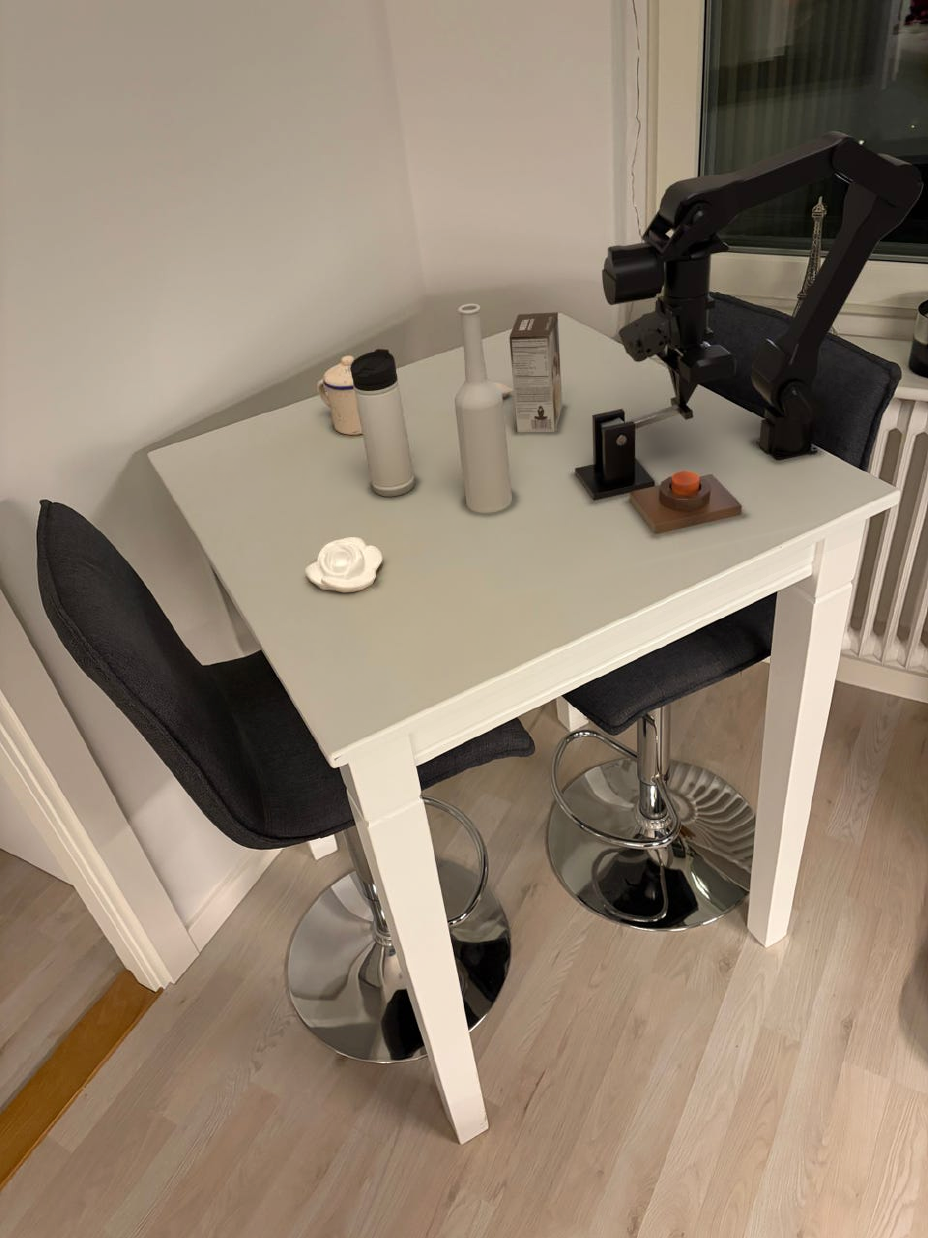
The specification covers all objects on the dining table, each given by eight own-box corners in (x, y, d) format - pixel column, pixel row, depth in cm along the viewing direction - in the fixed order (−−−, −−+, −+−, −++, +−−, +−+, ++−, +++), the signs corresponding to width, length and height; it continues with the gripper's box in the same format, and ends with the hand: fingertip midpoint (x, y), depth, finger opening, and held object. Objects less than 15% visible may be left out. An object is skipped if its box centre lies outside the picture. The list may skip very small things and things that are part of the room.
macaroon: (485, 392, 160) (484, 379, 159) (514, 391, 159) (513, 377, 158) (482, 404, 157) (481, 390, 155) (512, 402, 156) (510, 389, 154)
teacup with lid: (397, 415, 157) (386, 349, 150) (366, 439, 151) (353, 372, 144) (340, 406, 162) (326, 341, 155) (308, 429, 156) (293, 363, 149)
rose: (364, 516, 124) (389, 551, 117) (370, 544, 126) (394, 580, 119) (292, 539, 121) (313, 576, 114) (300, 567, 124) (321, 605, 117)
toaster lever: (678, 406, 131) (677, 391, 129) (693, 421, 127) (692, 406, 125) (599, 434, 130) (596, 419, 129) (611, 449, 126) (609, 434, 125)
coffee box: (524, 407, 154) (517, 312, 144) (563, 407, 153) (558, 310, 143) (516, 433, 147) (508, 335, 137) (556, 433, 146) (551, 334, 136)
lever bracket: (633, 462, 136) (634, 400, 130) (654, 488, 130) (656, 424, 124) (575, 475, 135) (572, 413, 129) (593, 502, 129) (592, 438, 123)
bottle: (488, 484, 136) (468, 294, 118) (521, 498, 132) (506, 303, 114) (456, 504, 132) (431, 311, 115) (489, 519, 128) (469, 321, 111)
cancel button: (692, 480, 125) (692, 468, 124) (703, 492, 122) (704, 481, 121) (666, 485, 124) (667, 474, 123) (677, 498, 122) (678, 487, 120)
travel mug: (423, 477, 139) (403, 349, 127) (403, 499, 135) (380, 369, 123) (386, 472, 142) (364, 346, 129) (365, 494, 137) (340, 366, 125)
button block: (711, 484, 129) (712, 461, 127) (741, 516, 122) (743, 493, 120) (629, 502, 128) (629, 480, 126) (655, 535, 121) (655, 512, 119)
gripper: (600, 280, 124) (603, 389, 134) (655, 327, 110) (653, 445, 119) (679, 265, 126) (675, 373, 135) (743, 309, 111) (734, 428, 121)
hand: (682, 403), depth 128 cm, fingers closed
